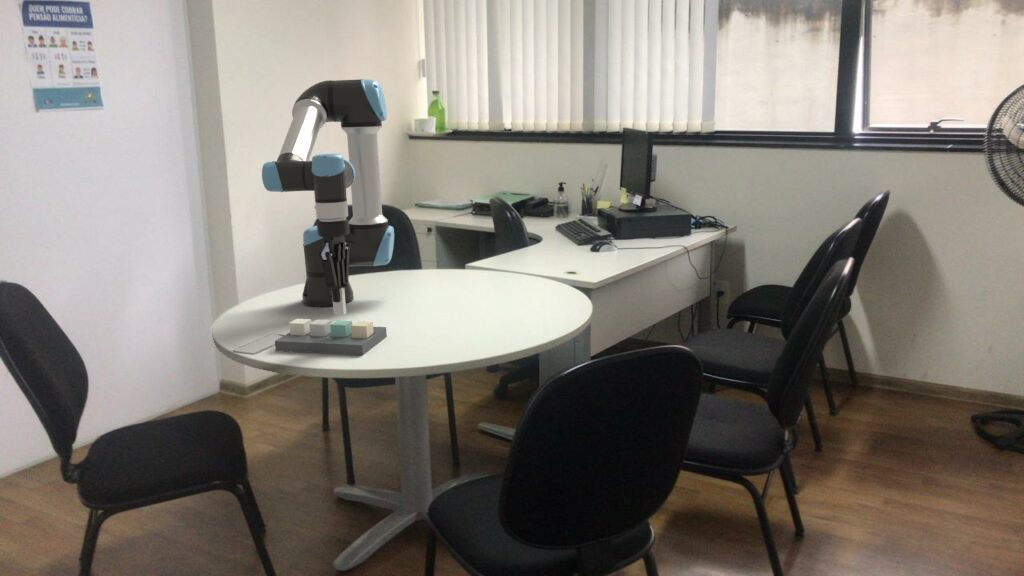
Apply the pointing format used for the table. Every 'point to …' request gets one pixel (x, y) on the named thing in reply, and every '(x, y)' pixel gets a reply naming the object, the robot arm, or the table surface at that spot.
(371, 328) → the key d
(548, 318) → the table surface
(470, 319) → the table surface
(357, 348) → the keypad
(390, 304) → the table surface
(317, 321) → the key
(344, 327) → the key
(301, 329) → the key
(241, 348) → the smartphone
